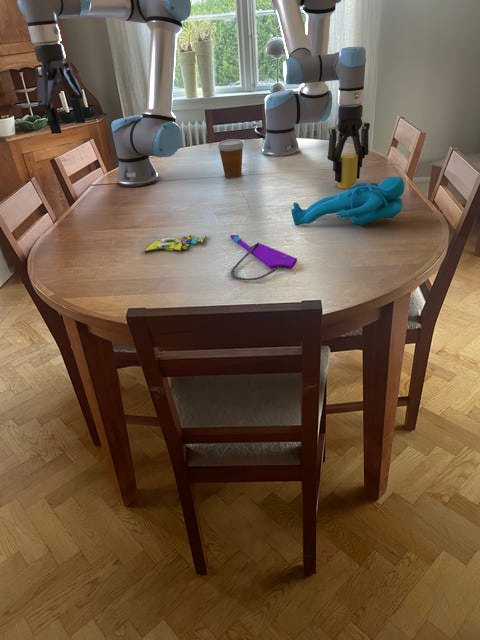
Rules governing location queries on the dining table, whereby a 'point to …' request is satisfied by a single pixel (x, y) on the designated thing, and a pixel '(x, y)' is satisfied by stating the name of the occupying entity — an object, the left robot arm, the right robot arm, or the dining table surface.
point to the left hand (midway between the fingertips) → (69, 128)
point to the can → (348, 170)
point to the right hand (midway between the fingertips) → (347, 179)
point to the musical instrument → (264, 257)
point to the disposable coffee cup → (231, 156)
